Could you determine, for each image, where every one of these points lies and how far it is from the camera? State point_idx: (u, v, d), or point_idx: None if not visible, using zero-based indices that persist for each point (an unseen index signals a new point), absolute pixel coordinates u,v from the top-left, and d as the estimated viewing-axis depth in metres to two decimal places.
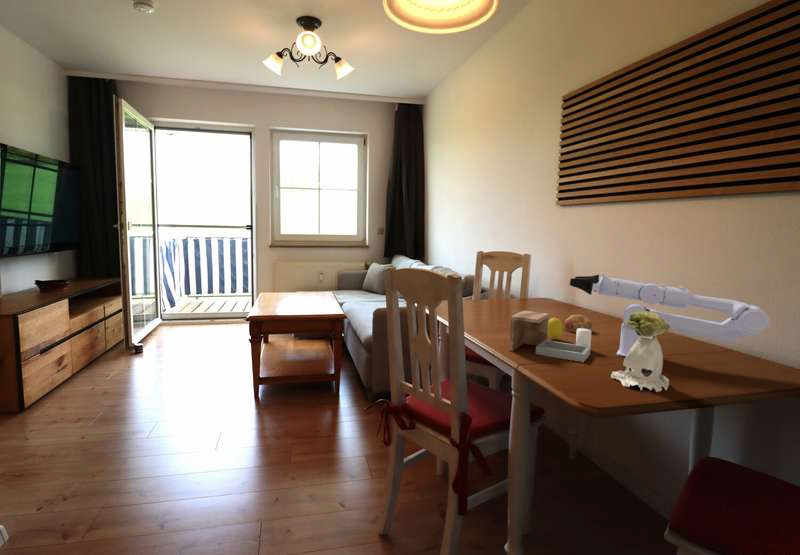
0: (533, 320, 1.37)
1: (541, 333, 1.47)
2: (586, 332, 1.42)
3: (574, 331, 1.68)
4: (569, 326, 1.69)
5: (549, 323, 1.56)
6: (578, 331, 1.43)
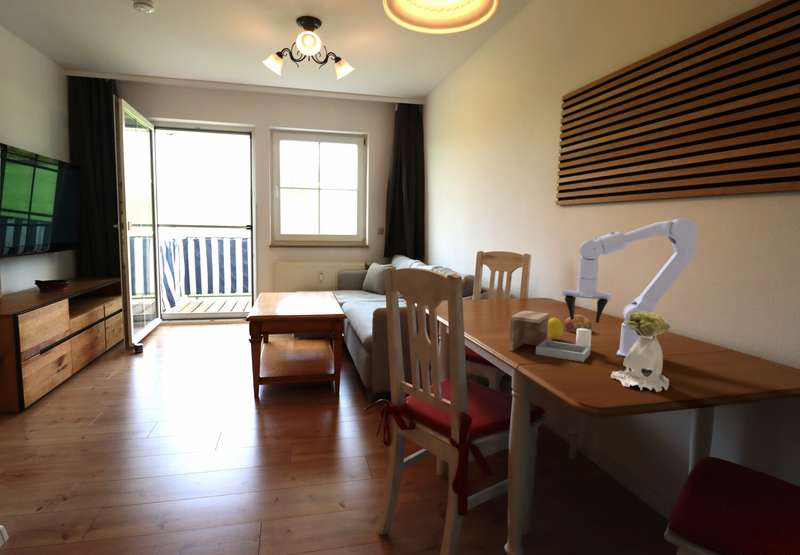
0: (533, 320, 1.37)
1: (541, 333, 1.47)
2: (586, 332, 1.42)
3: (574, 331, 1.68)
4: (569, 326, 1.69)
5: (549, 323, 1.56)
6: (578, 331, 1.43)
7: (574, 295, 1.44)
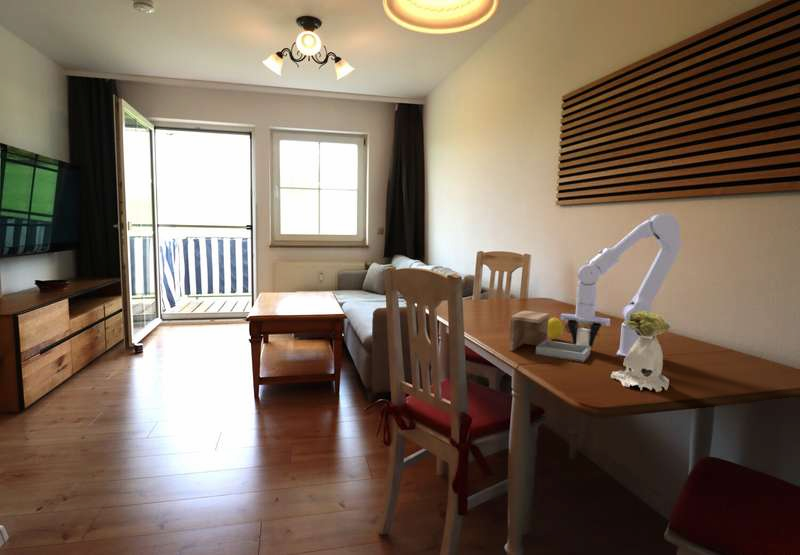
0: (533, 320, 1.37)
1: (541, 333, 1.47)
2: (586, 332, 1.42)
3: None
4: None
5: (549, 323, 1.56)
6: (578, 331, 1.43)
7: (572, 319, 1.45)
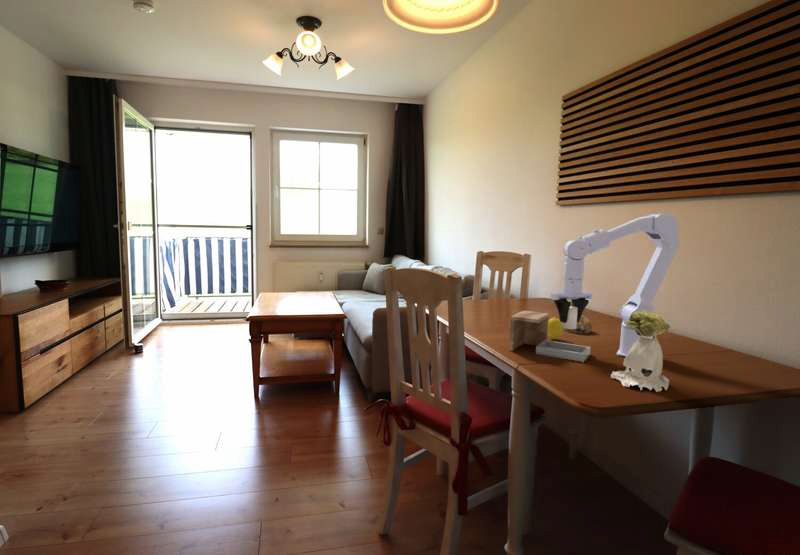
0: (533, 320, 1.37)
1: (541, 333, 1.47)
2: (577, 309, 1.39)
3: (574, 331, 1.68)
4: None
5: (549, 323, 1.56)
6: (569, 309, 1.39)
7: (563, 297, 1.39)
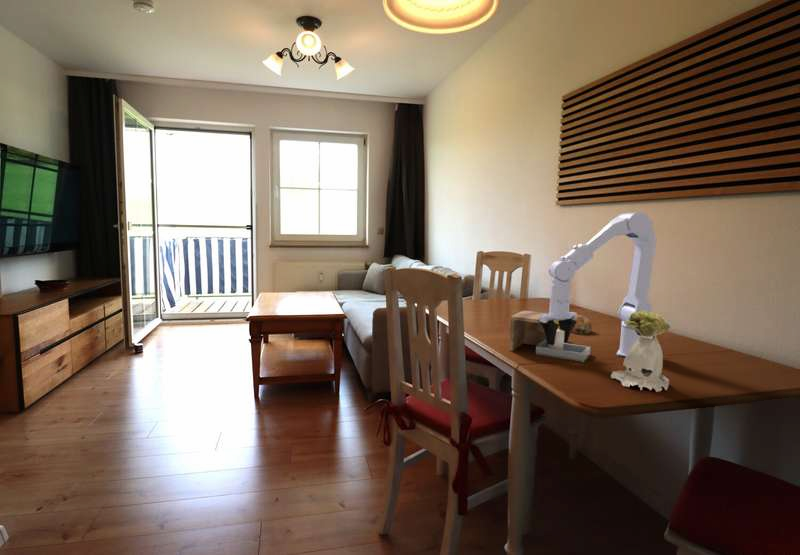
0: (533, 320, 1.37)
1: (541, 333, 1.47)
2: (564, 332, 1.38)
3: (574, 331, 1.68)
4: None
5: None
6: (557, 333, 1.37)
7: (551, 319, 1.36)
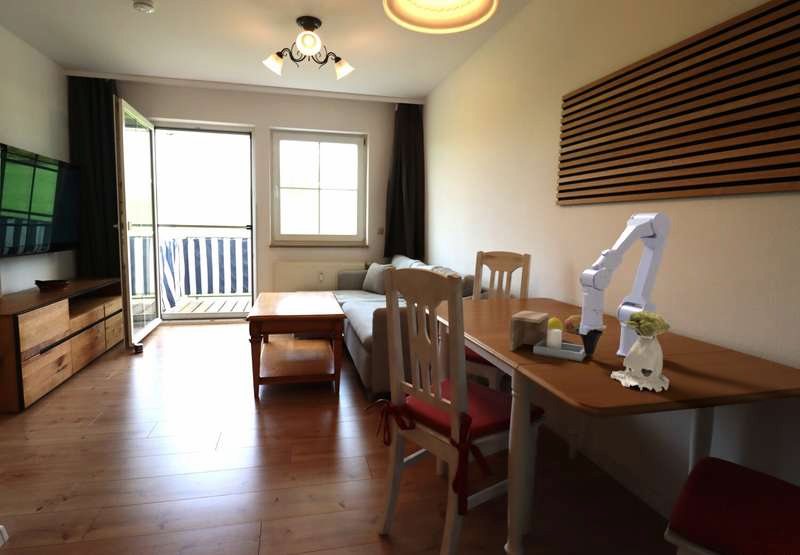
0: (533, 320, 1.37)
1: (541, 333, 1.47)
2: (561, 332, 1.38)
3: (574, 332, 1.67)
4: (569, 326, 1.68)
5: (549, 323, 1.56)
6: (555, 333, 1.38)
7: (588, 330, 1.31)
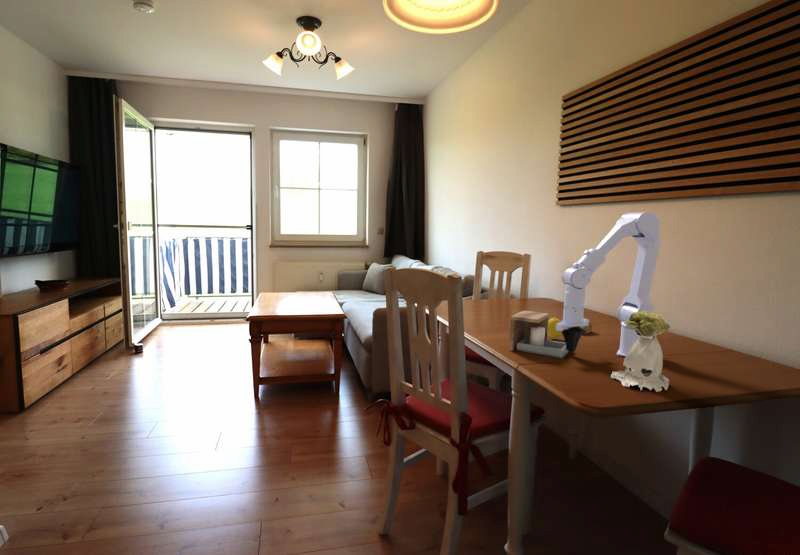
0: (533, 320, 1.37)
1: None
2: (544, 329, 1.42)
3: None
4: None
5: (549, 323, 1.56)
6: (537, 330, 1.41)
7: (566, 327, 1.34)
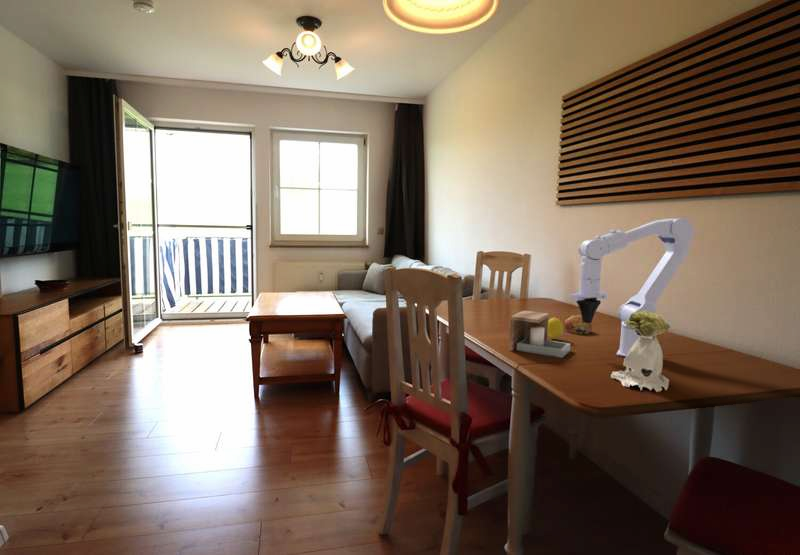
0: (533, 320, 1.37)
1: None
2: (544, 329, 1.42)
3: (574, 332, 1.67)
4: (569, 326, 1.68)
5: (549, 323, 1.56)
6: (537, 330, 1.41)
7: (581, 298, 1.36)
